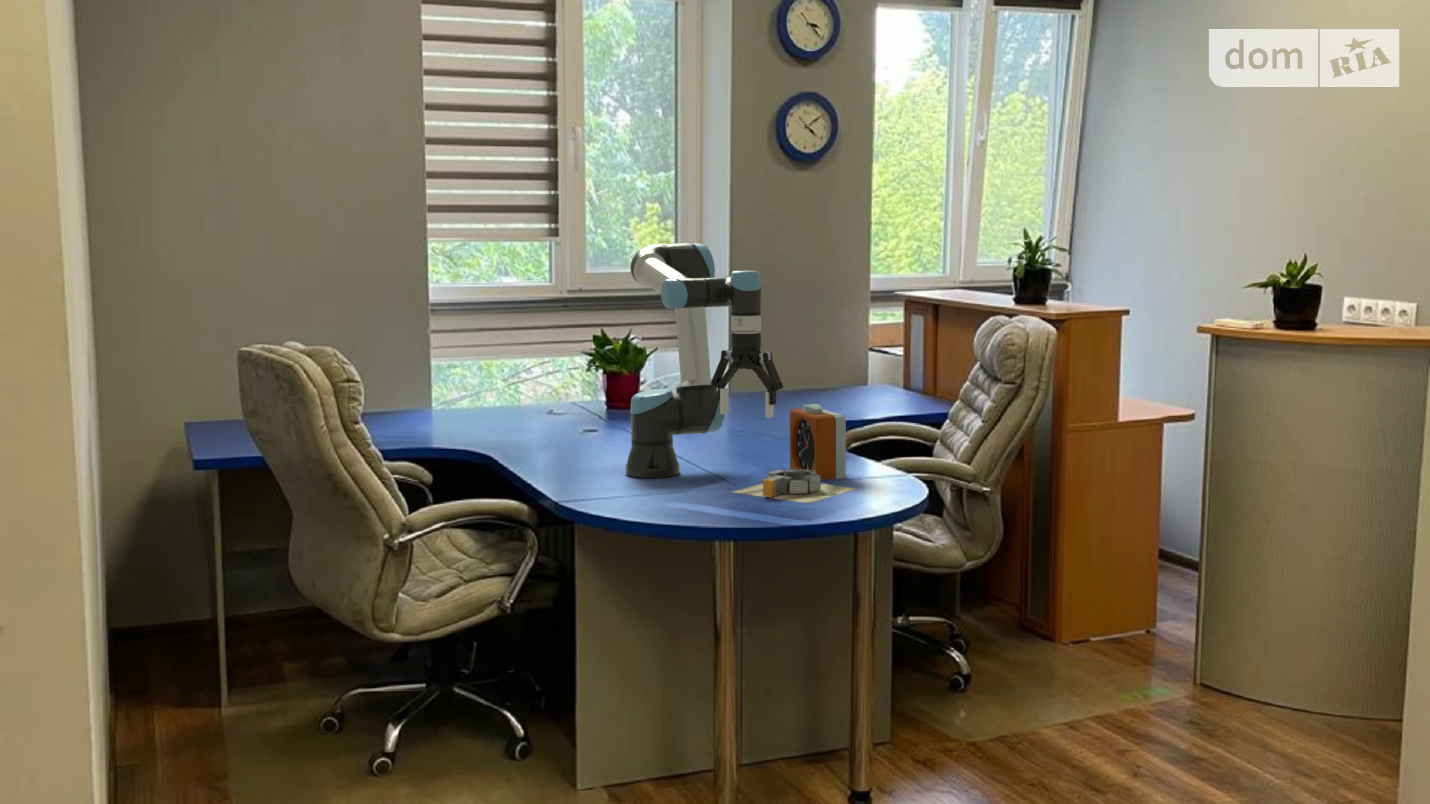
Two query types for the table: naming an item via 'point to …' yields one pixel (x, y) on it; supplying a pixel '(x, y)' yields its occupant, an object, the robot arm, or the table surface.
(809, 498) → the collar base
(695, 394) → the robot arm
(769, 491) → the grey handled ring
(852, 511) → the table surface
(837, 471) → the alarm clock
